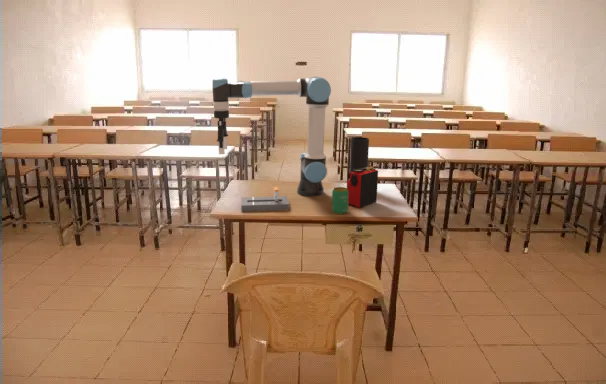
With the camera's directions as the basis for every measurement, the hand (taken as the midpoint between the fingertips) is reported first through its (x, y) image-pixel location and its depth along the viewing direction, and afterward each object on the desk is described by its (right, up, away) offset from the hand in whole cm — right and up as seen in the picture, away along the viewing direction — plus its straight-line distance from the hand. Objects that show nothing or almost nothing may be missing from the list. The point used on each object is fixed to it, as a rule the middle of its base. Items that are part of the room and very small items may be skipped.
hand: (223, 151), depth 236 cm
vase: (+74, -19, +34) cm, 84 cm away
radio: (+72, -27, +7) cm, 77 cm away
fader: (+27, -28, +2) cm, 39 cm away
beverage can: (+60, -31, -7) cm, 68 cm away
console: (+22, -28, +1) cm, 36 cm away
